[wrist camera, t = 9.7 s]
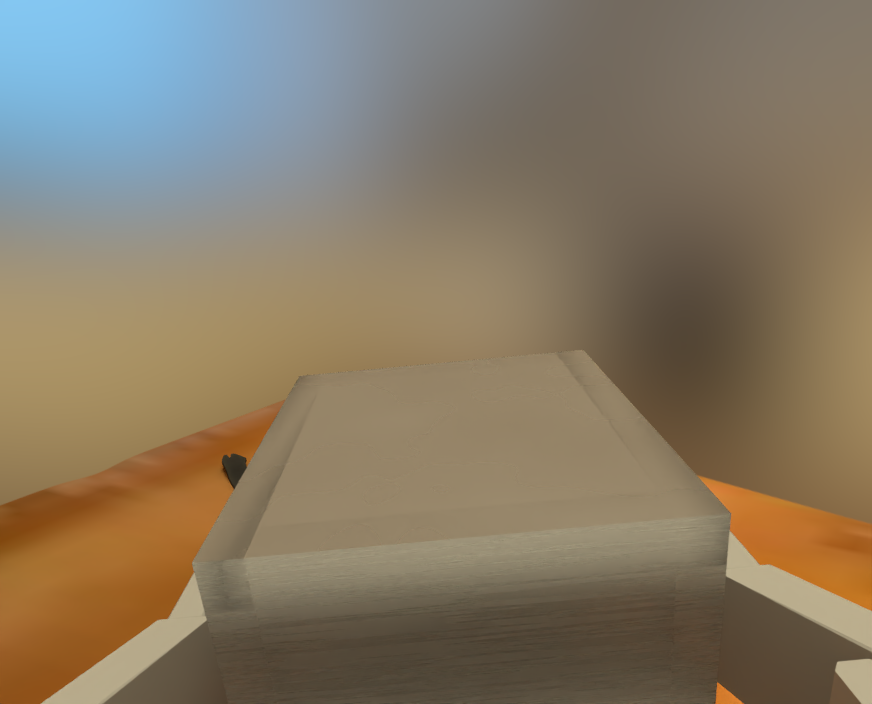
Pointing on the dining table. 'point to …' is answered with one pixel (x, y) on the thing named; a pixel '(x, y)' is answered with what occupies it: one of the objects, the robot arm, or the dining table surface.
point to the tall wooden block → (466, 545)
